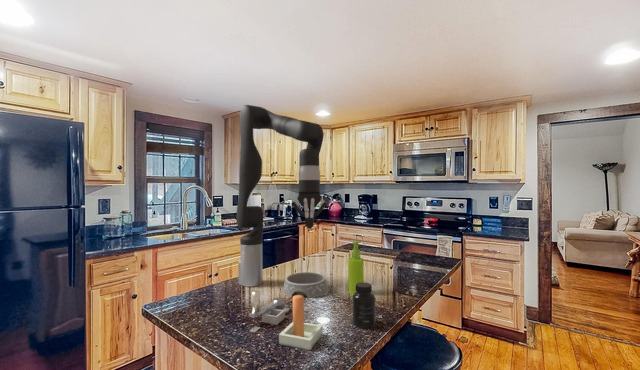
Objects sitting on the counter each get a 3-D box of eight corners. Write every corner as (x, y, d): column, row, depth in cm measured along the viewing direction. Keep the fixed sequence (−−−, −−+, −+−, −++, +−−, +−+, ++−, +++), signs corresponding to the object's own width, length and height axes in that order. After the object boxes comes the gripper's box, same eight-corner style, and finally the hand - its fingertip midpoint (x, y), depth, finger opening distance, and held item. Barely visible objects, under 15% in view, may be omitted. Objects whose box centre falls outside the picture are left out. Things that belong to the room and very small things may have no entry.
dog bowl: (323, 300, 115) (323, 285, 115) (276, 296, 119) (276, 282, 119) (331, 285, 131) (331, 273, 131) (290, 283, 135) (290, 270, 135)
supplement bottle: (350, 319, 97) (350, 281, 97) (372, 318, 98) (371, 280, 98) (355, 329, 90) (354, 288, 90) (378, 328, 91) (377, 287, 91)
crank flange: (241, 329, 91) (241, 326, 91) (274, 305, 109) (274, 302, 109) (262, 333, 88) (262, 330, 88) (292, 308, 106) (292, 305, 106)
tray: (278, 344, 82) (278, 334, 82) (293, 329, 91) (293, 320, 91) (310, 350, 79) (310, 340, 79) (322, 334, 88) (322, 325, 88)
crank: (277, 303, 107) (277, 279, 107) (287, 306, 105) (287, 281, 105) (246, 320, 94) (246, 292, 94) (256, 323, 92) (256, 295, 92)
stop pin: (291, 338, 84) (290, 298, 84) (296, 333, 87) (295, 294, 87) (301, 340, 83) (300, 299, 83) (306, 335, 86) (305, 295, 86)
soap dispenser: (366, 290, 124) (365, 240, 124) (361, 295, 118) (360, 243, 118) (352, 288, 127) (352, 239, 127) (346, 293, 121) (346, 242, 121)
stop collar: (261, 322, 96) (261, 314, 96) (270, 315, 101) (270, 308, 101) (276, 324, 94) (276, 317, 94) (284, 317, 99) (284, 310, 99)
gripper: (289, 178, 106) (289, 229, 106) (327, 178, 105) (328, 230, 105) (292, 179, 113) (292, 227, 113) (328, 179, 113) (328, 227, 112)
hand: (309, 228), depth 109 cm, fingers closed
